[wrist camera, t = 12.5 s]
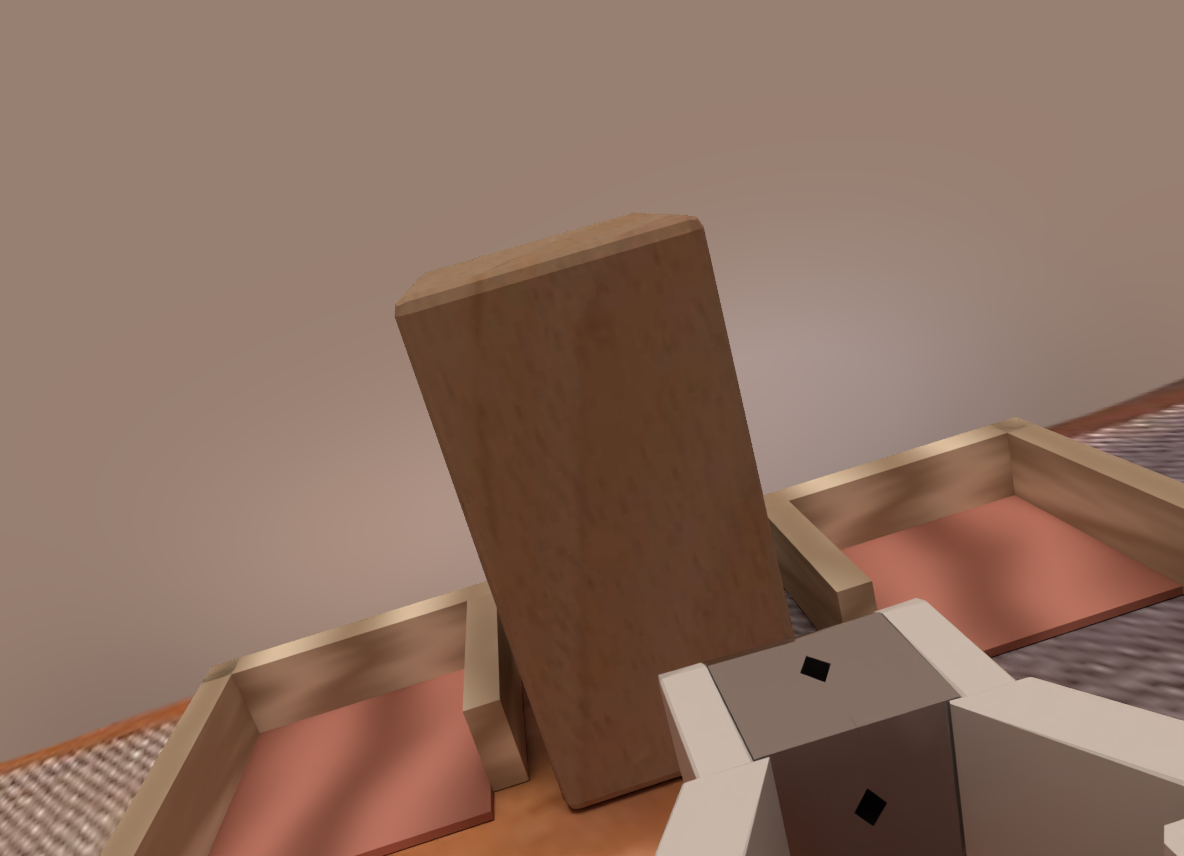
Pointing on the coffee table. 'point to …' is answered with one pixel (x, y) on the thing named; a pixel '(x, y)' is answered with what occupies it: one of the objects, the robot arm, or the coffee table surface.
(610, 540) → the wooden block
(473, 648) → the trap box
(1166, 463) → the coffee table surface
